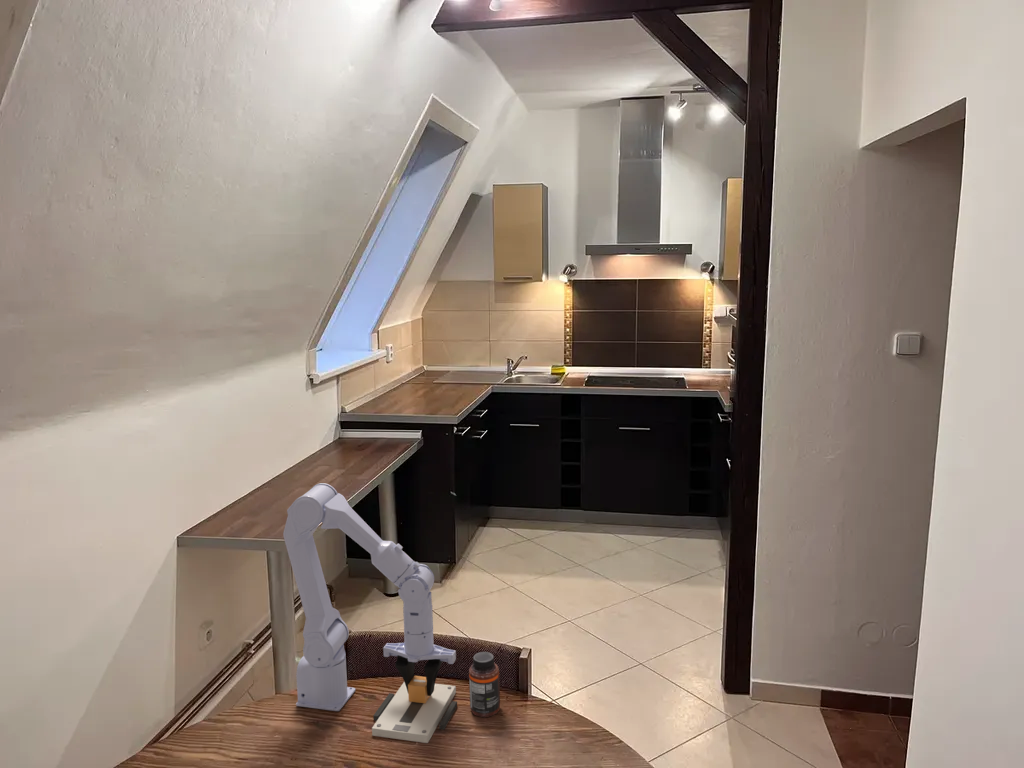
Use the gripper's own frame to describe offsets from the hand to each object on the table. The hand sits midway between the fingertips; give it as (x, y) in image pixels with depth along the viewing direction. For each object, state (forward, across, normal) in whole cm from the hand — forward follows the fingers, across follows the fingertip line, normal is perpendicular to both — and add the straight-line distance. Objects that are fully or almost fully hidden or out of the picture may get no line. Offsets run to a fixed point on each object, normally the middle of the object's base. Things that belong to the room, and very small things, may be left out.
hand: (420, 691), depth 151 cm
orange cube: (+1, 0, -1) cm, 1 cm away
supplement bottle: (+3, +13, +1) cm, 13 cm away
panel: (+3, 0, -3) cm, 4 cm away
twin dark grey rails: (+3, 0, -3) cm, 4 cm away
